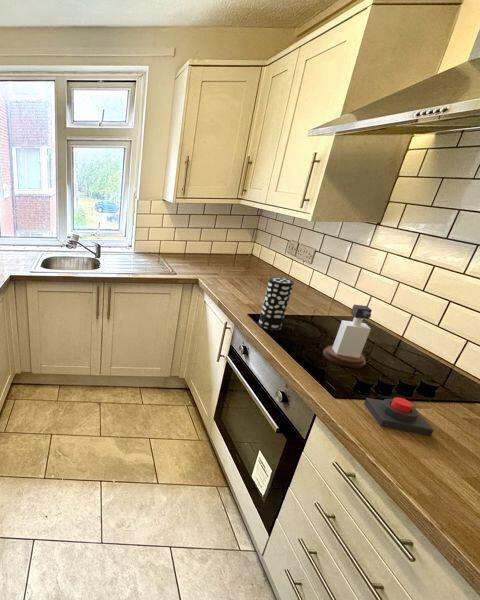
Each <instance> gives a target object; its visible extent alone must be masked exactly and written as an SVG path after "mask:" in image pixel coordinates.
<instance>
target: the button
mask: <svg viewBox="0 0 480 600" xmlns="http://www.w3.org/2000/svg"><path fill="white" fill-rule="evenodd" d="M392 399H393V401H392V403H391V406H392V407H393V408H395V409H396V410H399V411H401V412H405V413H410V411H411V409H412V407H414V404H413V403H412V401H409V400H407V399H406V398H403V397H399V396H396V397H394V398H392Z"/></svg>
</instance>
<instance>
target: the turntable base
mask: <svg viewBox="0 0 480 600" xmlns="http://www.w3.org/2000/svg"><path fill="white" fill-rule="evenodd" d="M326 348H327V347H325V348H324V349H323V351H322V356H323V357H324V358H325V359H326V360H328V361H330V362H331V363H333V364H335V365H338V366H341V367H344V368H348V369H349V368H350V369H362V368H364V367H365V366H366V363H367V360H366V359H365V360H364V362H362V363H349V362H344V361H341V360H338V359H336V358H334V357H332V356H331V355H329V354H328V353H327V352H326Z"/></svg>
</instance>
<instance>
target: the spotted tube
mask: <svg viewBox="0 0 480 600" xmlns="http://www.w3.org/2000/svg"><path fill="white" fill-rule="evenodd" d="M294 284H295V283H294V280H292V279H289V278H286V277H281V276H280V277H279V276H273V277H272V276H271V277H269V279H268V283H267V287H266V291H265V294H264V295H265V296H264V299H263V304H262V307H261V312H260V315H259V318H258V319H259V320H258V323H257V324H258V325H259V326H260V327H261V328H263V329H266V330H270V331H280V330H281V329H282V326H283V322H284V319H285V316H286V312H287V309H288V304H289V301H290V297H291V294H292V292H293V291H292V290H293V287H294Z"/></svg>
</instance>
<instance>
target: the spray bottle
mask: <svg viewBox="0 0 480 600" xmlns="http://www.w3.org/2000/svg"><path fill="white" fill-rule="evenodd" d="M372 312H373V309H372V308H370V307H369V306H367V305H363V304H361V305H360V304H353V305H352V308H351V311H350V315H351V316H353V319H352V321H351V320H345V319H344V320H343V319H342V320H341V322H340V325H339V328H338V330H337V333H336V336H335V339H334V342H333V344H332V345H328V346H327V347H325V348H326V352H327V353H328V354H329V355H331V356H332V357H334V358H336V359H338V360H341V361H344V362H349V363H362V362H364V360H366V357H365V356H364V355H363V353H362V352H363V350H364V347H365V344H366V342H367V340H368V338H369V335H370V333H371V330H372V328H371V327H370V326H369V325H368V324H367V323H365V322H363V320H369V319H370V318H371V316H372Z"/></svg>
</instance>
